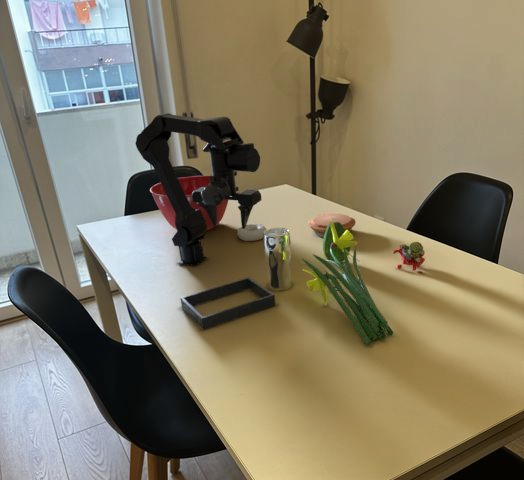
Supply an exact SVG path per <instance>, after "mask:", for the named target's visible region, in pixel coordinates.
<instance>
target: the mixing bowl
mask: <svg viewBox="0 0 524 480" xmlns="http://www.w3.org/2000/svg"><path fill="white" fill-rule="evenodd" d="M177 178H178V180H179V182H180V184H181V186H182V188H183V190H184V192H185V195H186V197H187V199H188V201H189V203H190V205H191V207H193V208H194V209H195V210H198V209H200V210H201V211H202V214H203V217H204V218H205V220H206V221H207V222H205V223H206V225H207V229H206V231H210V230H212V229H214V228H215V227H216V226H214V225H213V223H212V222H211V220H210V218H209V216H208V214H207V212H206V210H205V209H204V208H203V207H202V206H200V205H197V203H198V202H193V201H192V193H193V191H195V190H197V189H199V188H201V187H206V186H207V185H209V183H210V175H192V176H183V177H177ZM149 192H150V193H151V195H152V197H153V200H154V202H155V204H156V206H157V208H158V209H159V211H160V213H161V215H162V216H163V217H164V219H165V220H166V221H167V223H168V224H169V225H170V226H171V227H172V228H173V229H175V230H177V229H176V226H175V211H174V209H173V207H172V205H171V203H170V201H169V199H168V197H167V195H166V192H165V190H164V188H163V186H162V184H161V182H158V183H156V184H154V185H152V186H151V187H150V188H149ZM228 203H229V200H222V202H221V204H220V205H218V206H217V225H218V224H219V223H221V221H222V220H223V217H224V215H225V213H226V211H227V207H228Z"/></svg>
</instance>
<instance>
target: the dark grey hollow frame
mask: <svg viewBox="0 0 524 480" xmlns="http://www.w3.org/2000/svg"><path fill="white" fill-rule="evenodd" d="M246 290H250V291H251V293H253V294H255V295H257V296H258V297H259V298H257V299H256V298H255V299H254V300H250V301H248V302H245V303H241V304H239V305H235V306H232V307H229V308H225V309H223V310H220V311H217V312H214V313H211V314H208V315H202V314H201V313H200V312H199V311H198V310H197V309H196V308H195V307H194V306H198V305H201V304H205V303H207V302H208V303H209V302H210V301H214V300H217V299H220V298H224V297H227V296H230V295H234V294H236V293H239V292H242V291H246ZM180 304H181V309H182V310H183V311H184V312H185V313H186V314H187V315H188V316H189V317H190V318H191V319H192V320H193V321H194V322H195V323H196V324H197V325H198V326H199V328H201V329H202V330H203V331H204V330H207V329H211V328H213V327H216V326H220V325H223V324H226V323H229V322H232V321H234V320H237V319H240V318H243V317H247V316H249V315H252V314H255V313H259V312H261V311H263V310H267V309H270V308H273V307H275V306H276V296H275V294H274V293H272V292H271V291H270V290H268V289H267V288H266V287H264V286H262V285H261V284H259V283H258V282H257V281H255V280H254V279H252V278H251V277H249V276H248V277H244V278H241V279H237V280H233V281H231V282H228V283H224V284H222V285H217V286H214V287H211V288H207V289H203V290H200V291H198V292H194V293H192V294H188V295H185V296H181V297H180Z"/></svg>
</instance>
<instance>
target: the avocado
mask: <svg viewBox="0 0 524 480" xmlns="http://www.w3.org/2000/svg"><path fill="white" fill-rule="evenodd" d="M333 223H334V226H335V229H336V232H337V235H338V239H339V238H340V237H341V236H342V235H343V234H344V233H345V229H344V227H343V226H342V224H341V223H339V222H333ZM332 243H334V240H333V233H332V230H331V227H330V224H329V225H328V226H327V228H326V231H325V235H324V238H322V251H323V255H324V257H325V258H326V260H333V261H334V259H333V257H332V256H331V253H330V246H331V244H332ZM345 249H346V250H347V251H348V252H349V253H350V252H351V246H350V247H346V248H345ZM335 254H336V255H337V257H338V258H339V259H340V261H341V262H342V263H343V262H345V259H344V252H343V251H342V250H341V249H339V248H337V249H336V250H335ZM346 254H347V255H348V256H350V255H349V254H348V253H346Z"/></svg>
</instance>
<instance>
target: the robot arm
mask: <svg viewBox="0 0 524 480" xmlns="http://www.w3.org/2000/svg"><path fill="white" fill-rule="evenodd" d="M172 133H176V134H182V135H188V136H195V137H197V138H198V139H199V140H201V141H202V142H204V143H206V145H205V146H204V147H203V148H202V152H203V153H209V156H210V157H209V159H210V164H211V173H212V174H210V175H209V176H210V183H209V185H207V186H206V187H201V188H199V189H197V190H195V191H193V193H192V201H193V202H198V203H197V205H200V206H202V207H203V208H204V209H205V210H206V212H207V214H208V216H209V218H210V220H211V222H212V223H213V225H214V226H215V227H216V226H218V224H217V206H218V205H220V204H221V202H222V200H228V201H237V203H238V204H239V205H238V206H237V208H238V210H239V211H240V222H241V227H242V229H245V228H246V225H248V222H249V218H250V215H251V212H252V211H253V208H254V206H255V205H257V204H258V203H260V202H261V201H262V193H261V192H260V191H259V190H258V189H246V190H244V191H241V192H239V191H240V190H239V186H236V185H237V184H236V176H238V172H245V173H256V172H257V171H258V170H259V167H260V164H261V155H260V153H259V151H258V149H257V148H255V143H253V142H248V143H244V142H245V141H244V140H243V139H242V137H241V135H240V134H239V133H238V131H237V129H236V128H235V126H234V124H233V122H232V120H231V119H230V118H229V117H228V116H215V117H210V118H198V117H191V116H184V115H179V114H178V115H177V114H172V113H169V112H167V113H162V114H157V115H155V117H154V118H153V120H152V121H151V122H150V123H149V124H148V125H147V126H146V127H145V128H144V129H142V130H141V132H140V133H138V135H137V136H136V139H135V146H136V149H137V151H138V153H139V154H140V156H141V157H142V159H143V160H144V161H146V162H147V163H148V164H149V165H150V166H152V167H153V169H154V171H155V174H156V177H157V178H158V180H159V183H161V184H162V186H163V188H164V190H165V192H166V195H167V197H168V199H169V201H170V203H171V205H172V207H173V209H174V211H175V226H176V229H175V230H176V232H175V233H174V235H173V237H172V238H171V241H172V243H173V245H174V246H175V247H178V251H179V257H180V260H178V261H177V264H178V265H185V266H192V267H196V266H198V265H199V264H201V263H202V262H204V261H205V260H206V259H207V256H205V253H204V247H203V246H202V241H201V240H204V239H205V237H206V233H207V232H206V229H207V225H206V223H205V222H207V221H206V220H205V218H204V217H203V214H202V211H201V210H200V209H198V210H195V209H194V208H193V207H191V205H190V203H189V201H188V199H187V197H186V195H185V192H184V190H183V188H182V186H181V184H180V182H179V180H178V178H179V177H178V176H177V174H176V171H175V169H174V166H173V165H172V162H171V160H170V145H169V140H170V138H171V137H172Z"/></svg>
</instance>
